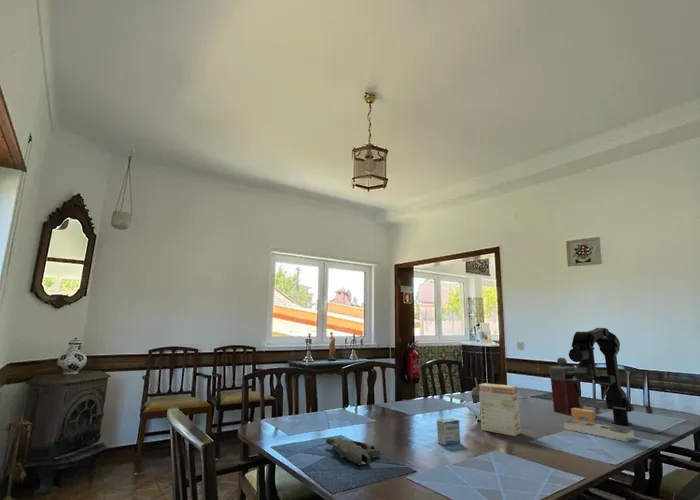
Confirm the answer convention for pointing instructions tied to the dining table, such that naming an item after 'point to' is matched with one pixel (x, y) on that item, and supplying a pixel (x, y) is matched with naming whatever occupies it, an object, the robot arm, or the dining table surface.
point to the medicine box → (448, 431)
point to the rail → (599, 430)
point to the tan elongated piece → (353, 450)
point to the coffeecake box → (499, 409)
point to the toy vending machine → (563, 389)
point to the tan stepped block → (583, 414)
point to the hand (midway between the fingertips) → (591, 398)
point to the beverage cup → (475, 395)
